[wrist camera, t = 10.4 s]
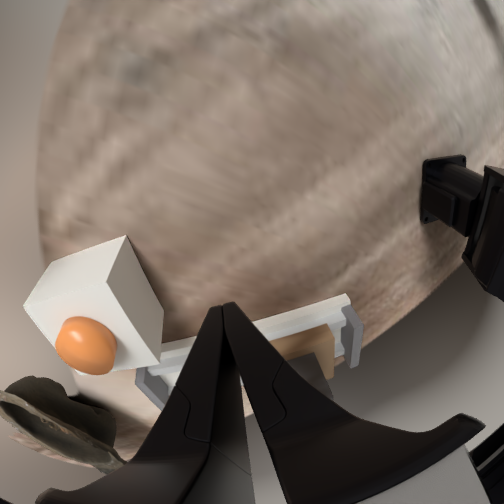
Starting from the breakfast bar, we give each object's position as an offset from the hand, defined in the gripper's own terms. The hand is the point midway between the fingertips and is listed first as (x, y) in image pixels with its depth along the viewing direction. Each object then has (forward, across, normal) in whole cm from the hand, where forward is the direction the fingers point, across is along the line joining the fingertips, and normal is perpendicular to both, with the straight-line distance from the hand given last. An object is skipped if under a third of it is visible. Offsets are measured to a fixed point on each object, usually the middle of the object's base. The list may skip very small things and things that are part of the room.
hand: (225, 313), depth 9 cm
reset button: (+6, +11, +5) cm, 13 cm away
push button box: (+12, +11, +5) cm, 17 cm away
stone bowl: (+12, +33, +23) cm, 42 cm away
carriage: (+10, -3, +17) cm, 20 cm away
